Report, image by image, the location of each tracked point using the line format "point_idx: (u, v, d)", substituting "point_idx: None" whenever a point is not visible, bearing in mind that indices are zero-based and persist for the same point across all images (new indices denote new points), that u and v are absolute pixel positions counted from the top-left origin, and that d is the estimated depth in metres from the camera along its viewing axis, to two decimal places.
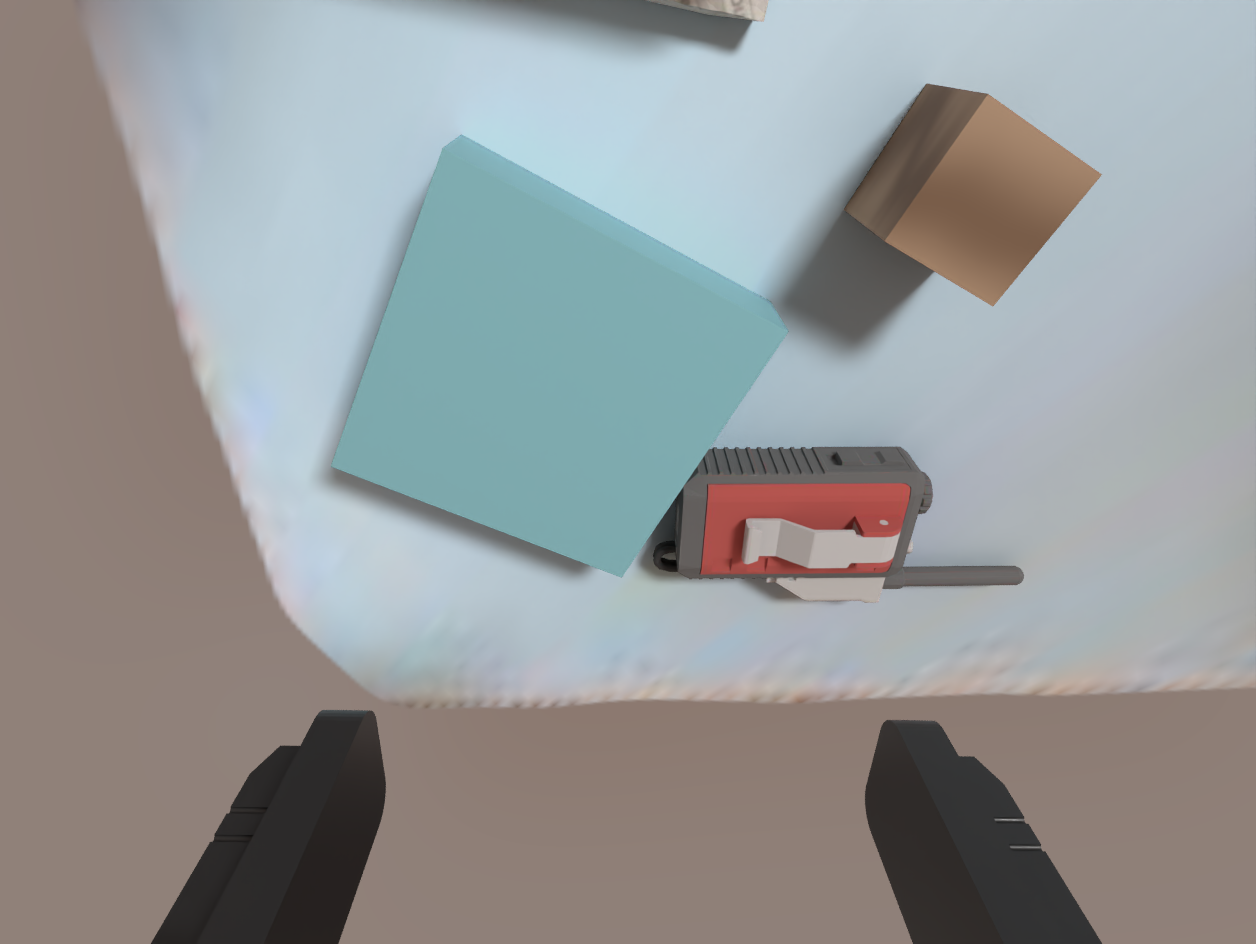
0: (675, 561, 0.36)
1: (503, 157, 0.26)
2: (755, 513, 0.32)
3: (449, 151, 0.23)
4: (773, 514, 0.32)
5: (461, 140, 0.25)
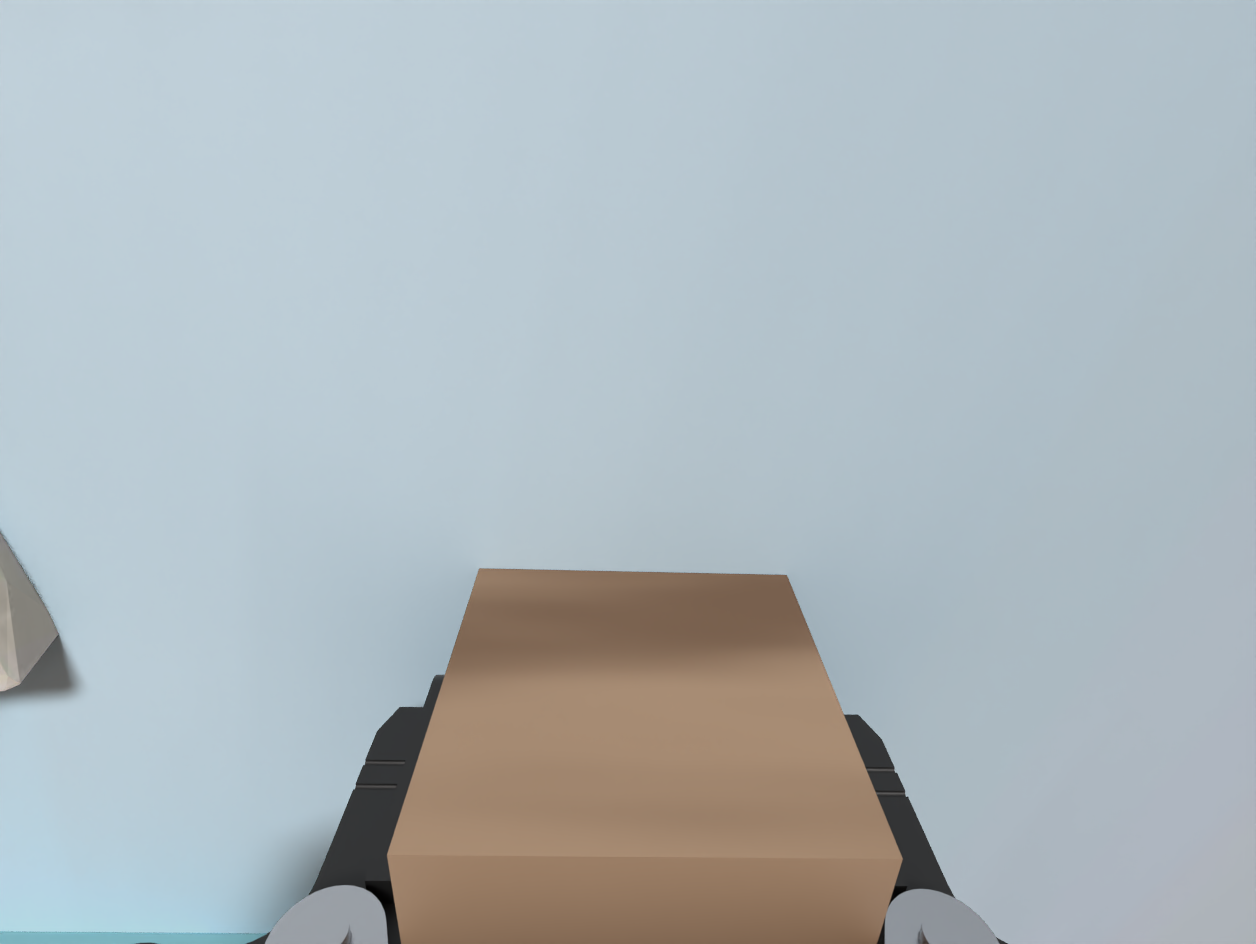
0: None
1: None
2: None
3: None
4: None
5: None
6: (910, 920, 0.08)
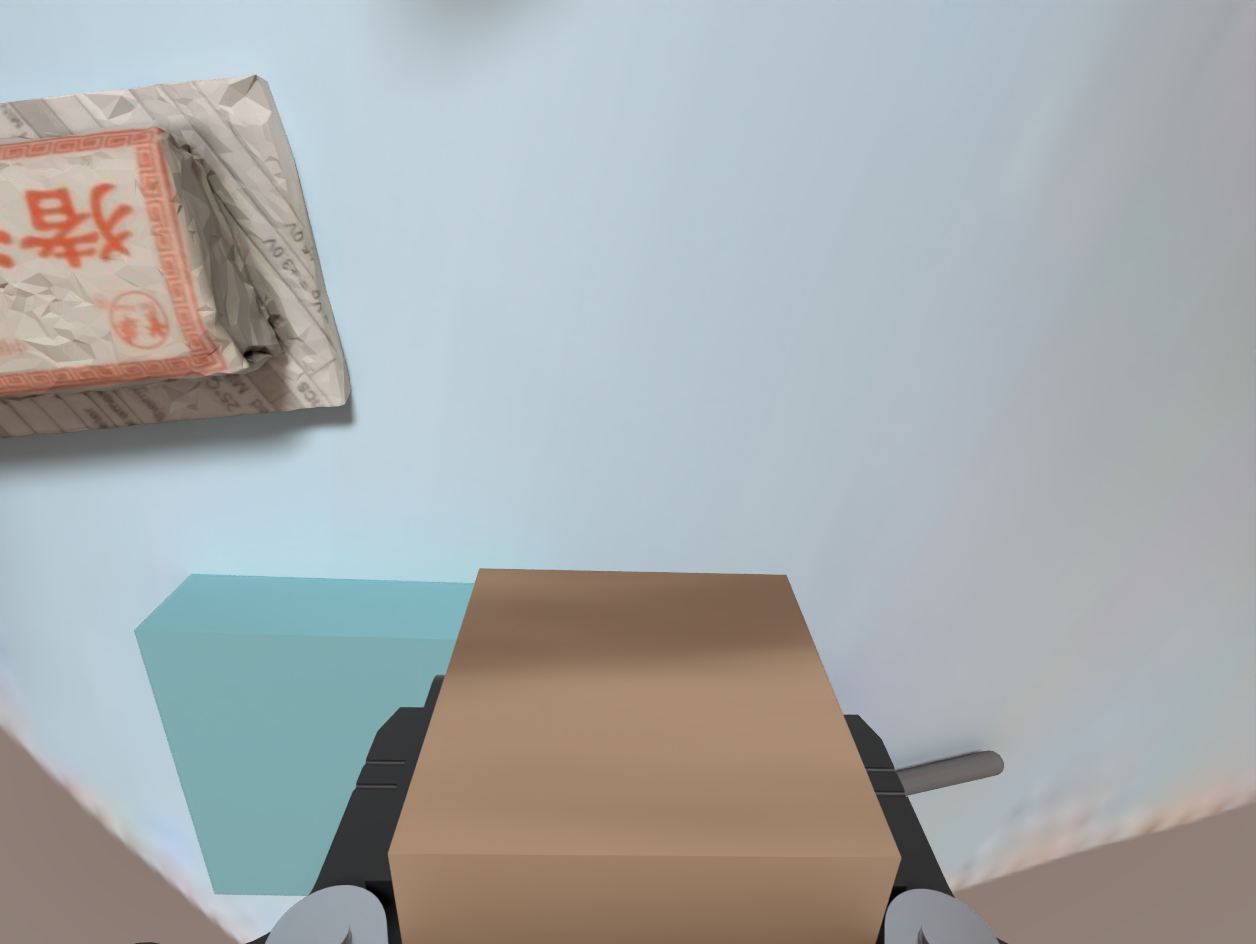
0: None
1: (234, 576, 0.27)
2: None
3: (141, 629, 0.24)
4: None
5: (182, 588, 0.26)
6: (910, 920, 0.08)
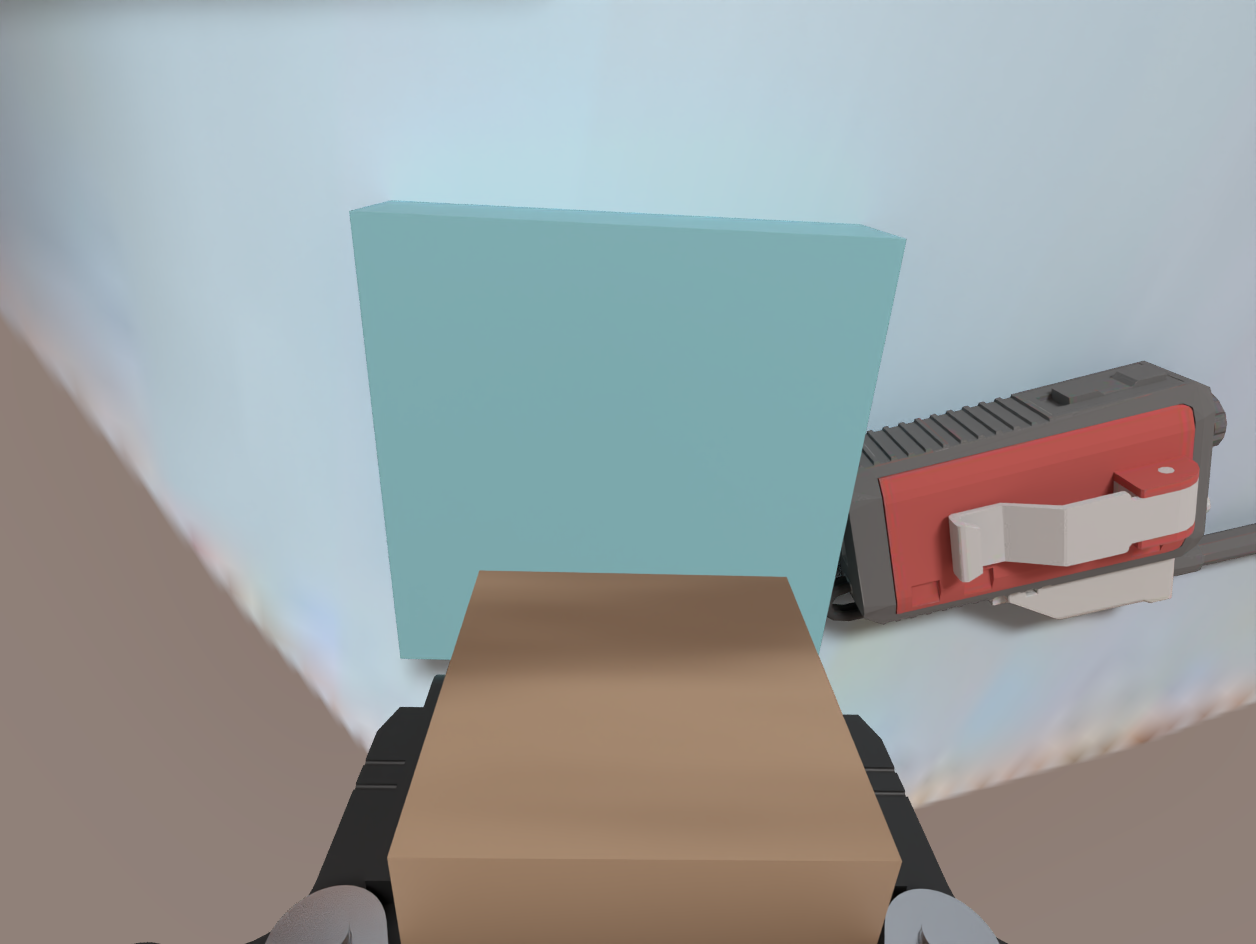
0: (852, 605, 0.26)
1: (449, 203, 0.20)
2: (959, 504, 0.22)
3: (359, 211, 0.17)
4: (987, 499, 0.22)
5: (387, 203, 0.19)
6: (910, 920, 0.08)
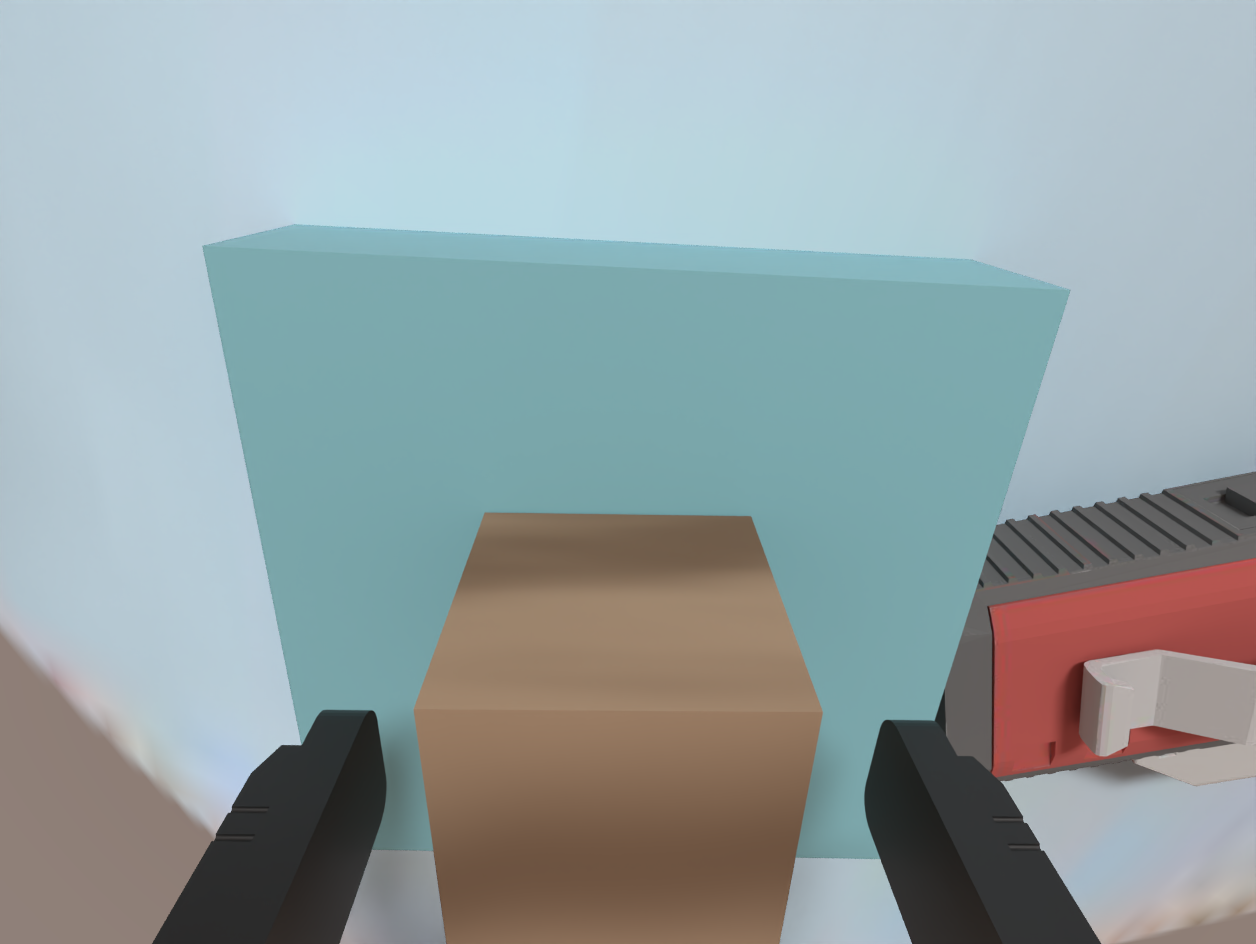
0: None
1: None
2: (1099, 647, 0.16)
3: (219, 246, 0.11)
4: (1138, 643, 0.15)
5: (285, 229, 0.13)
6: None
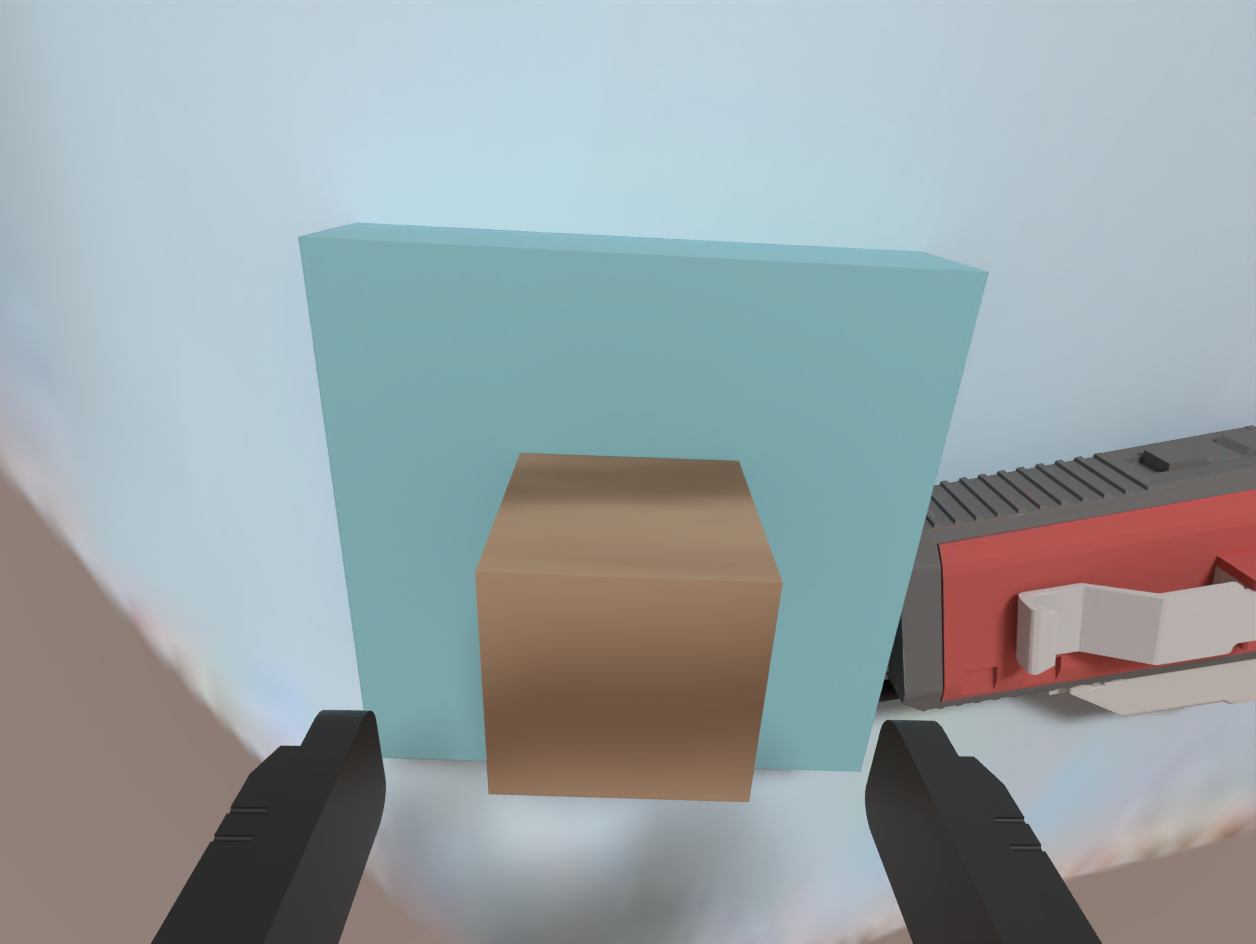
0: (885, 682, 0.22)
1: (428, 226, 0.17)
2: (1031, 581, 0.18)
3: (311, 237, 0.14)
4: (1064, 578, 0.18)
5: (353, 226, 0.16)
6: None
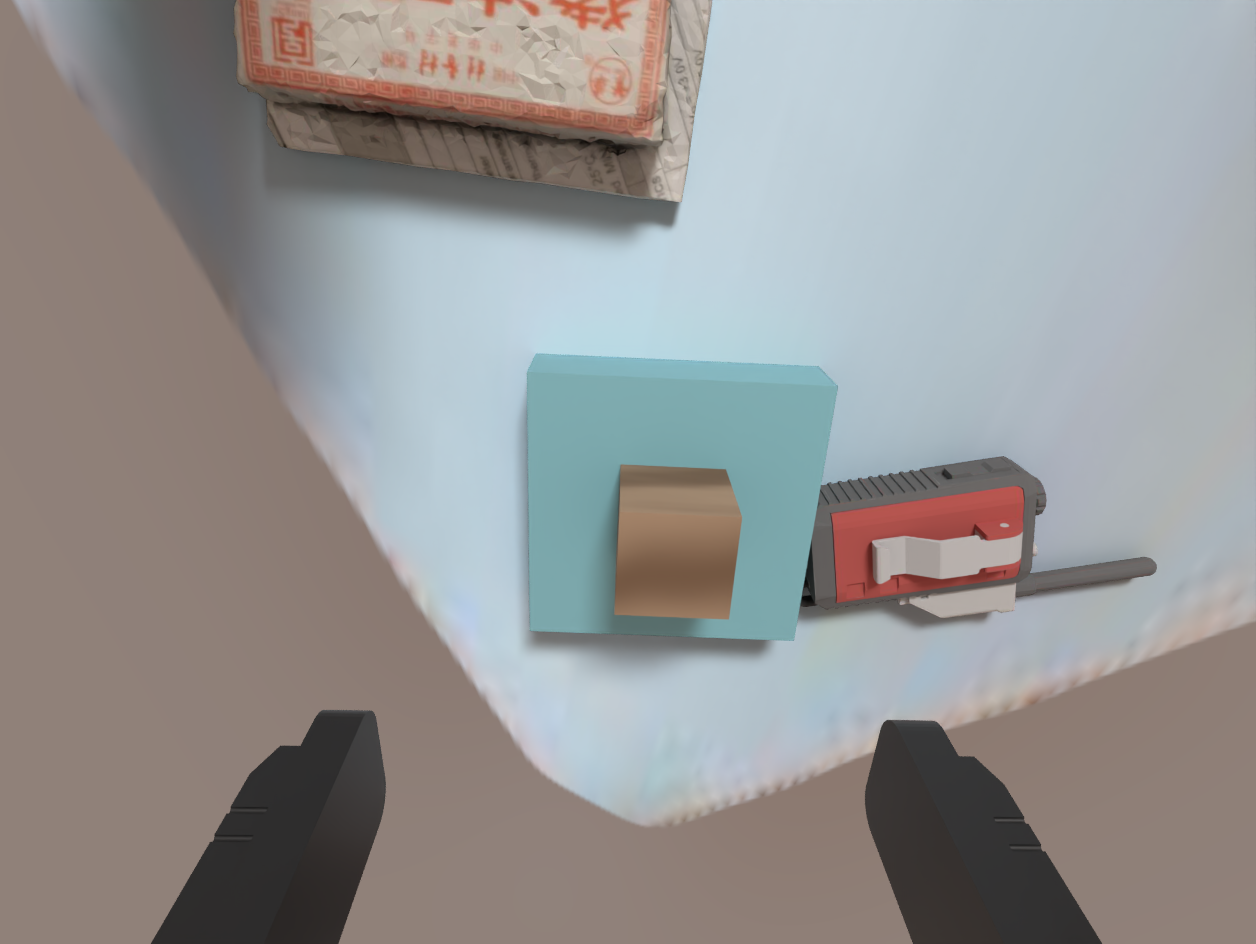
0: (808, 596, 0.39)
1: None
2: (879, 534, 0.35)
3: (532, 372, 0.31)
4: (896, 533, 0.35)
5: (537, 358, 0.33)
6: None
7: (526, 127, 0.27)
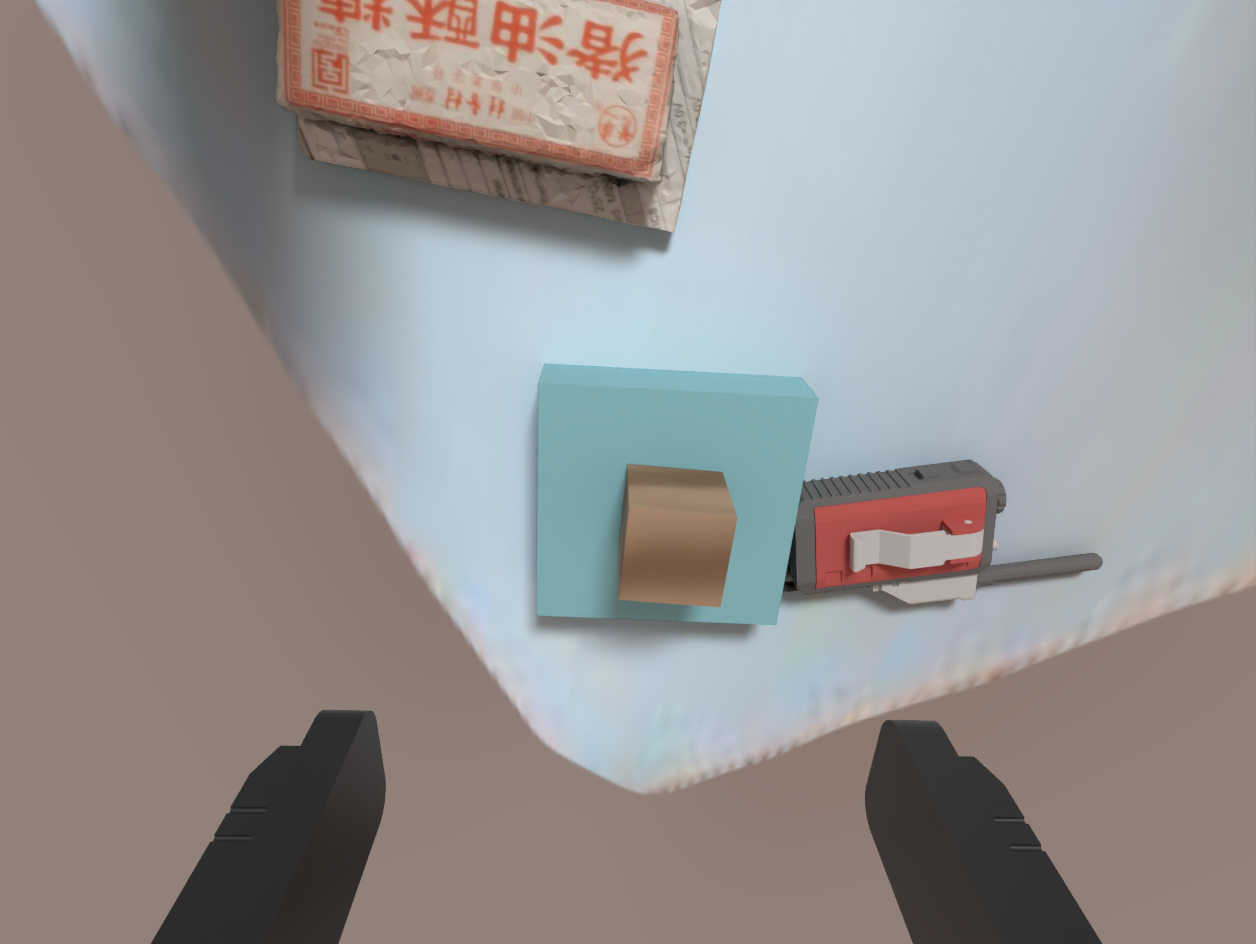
0: (791, 582, 0.42)
1: None
2: (856, 527, 0.39)
3: (542, 382, 0.34)
4: (872, 527, 0.39)
5: (546, 368, 0.36)
6: None
7: (538, 161, 0.30)
